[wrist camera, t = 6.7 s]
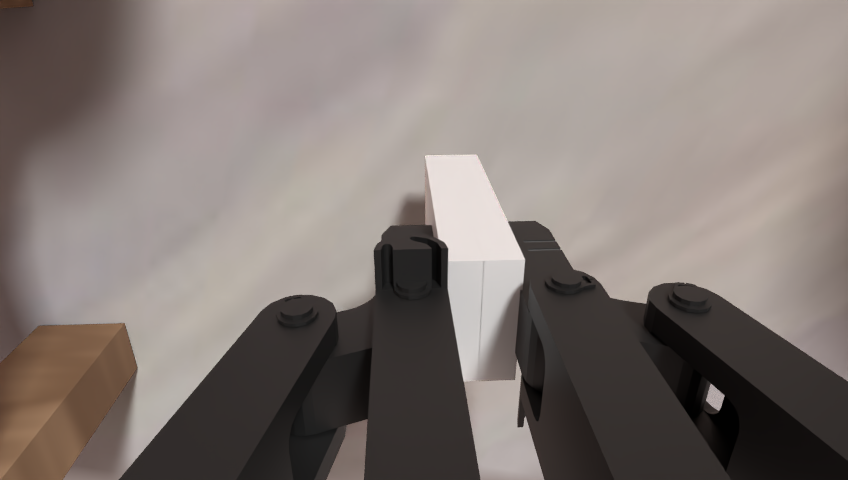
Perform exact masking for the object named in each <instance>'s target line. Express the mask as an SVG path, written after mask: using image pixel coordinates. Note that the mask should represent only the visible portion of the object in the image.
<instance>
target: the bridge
mask: <svg viewBox="0 0 848 480" xmlns="http://www.w3.org/2000/svg"><path fill="white" fill-rule="evenodd" d="M29 6H33V2H32V0H0V9H1V8H15V7H29ZM136 369H137V365H136V362H135V358H134V355H133V351H132V348H131V344H130V341H129V337H128V334H127V330H126V327H125V323H119V324H85V325H50V326H38V327H37V328H36V329H35V330H34V331H33V332H32V333H31V334H30V335H29V336H28V337H27V338H26V339H25V340H24V341H23V342H22V343H21V344H20V345H19V346H18V347H16V348H15V349H14V350H13V351H12V352H11V353H10V354H9V355H8V356H7V357H6V358H5V359H4V360H3V361H2V362H1V363H0V480H63V478H64V477H65V475H66V474H67V472H68V471H69V469H70V468H71V466H72V465H73V463H74V462H75V460H76V459H77V457H78V456H79V454H80V453H81V451H82V450H83V448H84V447H85V445H86V444H87V442H88V441H89V439H90V438H91V436H92V435H93V433H94V432H95V430H96V429H97V427H98V426H99V424H100V423H101V421H102V420H103V418H104V417H105V415H106V414H107V413H108V411H109V410H110V408H111V407H112V405H113V404H114V402H115V401H116V399H117V398H118V396H119V395H120V393H121V392H122V390H123V389H124V387H125V386H126V384H127V383H128V381H129V380H130V378H131V377H132V375H133V374H134V372H135V371H136Z"/></svg>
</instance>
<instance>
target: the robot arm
mask: <svg viewBox="0 0 848 480" xmlns="http://www.w3.org/2000/svg"><path fill="white" fill-rule="evenodd" d="M374 265H375V285H376V295H375V296H374V297H373V298H372V299H371V300H370V301H368V302H367V303H365V304H363V305H361V306H359V307H356V308H353V309H349V310H346V311H341V312H336V309H335V307H334V305H333V303H331V302H330V301H328V300H327V299H325V298H322V297H318V296H313V295H293V296H289V297H285V298H282V299H280V300H278V301H276V302H273V303H271V304H269V305H268V306H267V307H266V308H265V309H263V310H262V311H261V312H260V313H259V314H258V316H257V317H256V318H255V319H254V320H253V322H252V323H251V324H250V325H249V326H248V327H247V329H246V330H245V331H244V332H243V333H242V335H241V336H240V337H239V338H238V339H237V341H236V342H235V343H234V344H233V345H232V346H231V348H230V349H229V350H228V351H227V352H226V354H225V355H224V356H223V357H222V358H221V359H220V361H219V362H218V363H217V364H216V365H215V367H214V368H213V369H212V370H211V371H210V372H209V374H208V375H207V376H206V377H205V378H204V380H203V381H202V382H201V383H200V384H199V386H198V387H197V388H196V389H195V390H194V391H193V393H192V394H191V395H190V396H189V397H188V399H187V400H186V401H185V402H184V403H183V404H182V406H181V407H180V408H179V409H178V410H177V412H176V413H175V414H174V415H173V416H172V417H171V419H170V420H169V421H168V422H167V423H166V425H165V426H164V427H163V428H162V429H161V430H160V432H159V433H158V434H157V435H156V436H155V438H154V439H153V440H152V441H151V442H150V444H149V445H148V446H147V447H146V448H145V449H144V451H143V452H142V453H141V454H140V455H139V457H138V458H137V459H136V460H135V461H134V462H133V464H132V465H131V466H130V467H129V468H128V470H127V471H126V472H125V473H124V474H123V475H122V477H121V478H120V479H119V480H326V479H327V476H328V474H329V472H330V469H331V467H332V465H333V463H334V460H335V458H336V456H337V453H338V451H339V449H340V446H341V444H342V442H343V439H344V437H345V432H346V425H348V424H352V423H355V422H359V421H362V420H365V419H368V425H367V441H366V457H365V473H364V480H480V475H479V469H478V463H477V457H476V451H475V445H474V440H473V434H472V428H471V422H470V416H469V410H468V404H467V399H466V393H465V387H464V381H493V380H515V374H516V362H517V360H518V363H519V366H520V369H521V373H522V375H521V386H520V397H519V408H518V427H523V424H524V418H525V416H526V418H527V422H528V425H529V428H530V432H531V435H532V439H533V442H534V446H535V449H536V452H537V456H538V459H539V463H540V466H541V469H542V473H543V476H544V480H848V381H846V380H845V379H843V378H842V377H840V376H839V375H837V374H836V373H834V372H833V371H831V370H830V369H828V368H827V367H825V366H824V365H822V364H821V363H819V362H818V361H816V360H815V359H813V358H812V357H810V356H809V355H807V354H806V353H804V352H803V351H801V350H800V349H798V348H797V347H795V346H794V345H792V344H791V343H789V342H788V341H786V340H785V339H783V338H782V337H780V336H779V335H777V334H776V333H774V332H773V331H771V330H770V329H768V328H767V327H765V326H764V325H762V324H761V323H759V322H758V321H756V320H755V319H753V318H752V317H750V316H749V315H747V314H746V313H744V312H743V311H741V310H740V309H738V308H737V307H735V306H734V305H732V304H731V303H729V302H728V301H726V300H725V299H723V298H722V297H720V296H719V295H717V294H715V293H713V292H711V291H709V290H707V289H704V288H701V287H697V286H696V285H694V284H689V283H686V284H684V283H679V282H677V283H664V284H661V285H658V286H655V287H653V288H652V289H651V290H650V292H649V294H648V299H647V304H643V303H636V302H629V301H623V300H618V299H613V298H610V297H609V295H608V294H607V292H606V291H605V289H604V288H603V286H602V285H601V284H600V283H599V282H598V281H597V280H596V279H595V278H594V277H592V276H590V275H588V274H586V273H584V272H581V271H577V270H573V268H572V266H571V265H570V263H569V261H568V260H567V258H566V257H565V255H564V253H563V252H562V250H560V247H559V245H558V243H557V242H555V239H554V237H553V235H552V234H551V232H550V230H549V229H547V228H546V227H544V226H542V225H541V224H539V223H538V222H536V221H515V222H508V221H507V219H506V217H505V215H504V212H503V210H502V208H501V206H500V204H499V202H498V199H497V197H496V195H495V193H494V191H493V189H492V186H491V184H490V182H489V180H488V178H487V176H486V173H485V171H484V169H483V167H482V165H481V162H480V160H479V158H478V156H477V155H425V225H407V226H390V227H389V228H388V229H387V230H386V231H385V232H384V233H383V234H382V240H381V242H379V243H378V244H377V245H376V247H375V249H374ZM710 384H712V385H714V386H715V387H716V388H717V389H718V390H719V391H720V392H722V393H723V394H724V395H725V397H724V400H723V403H722V407H721V409H720V411H718V410H716V409H715V408H713V407H712V406H711V405H710V404H709V403H708V402H707V401H706V398H707V394H708V391H709V387H710Z"/></svg>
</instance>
